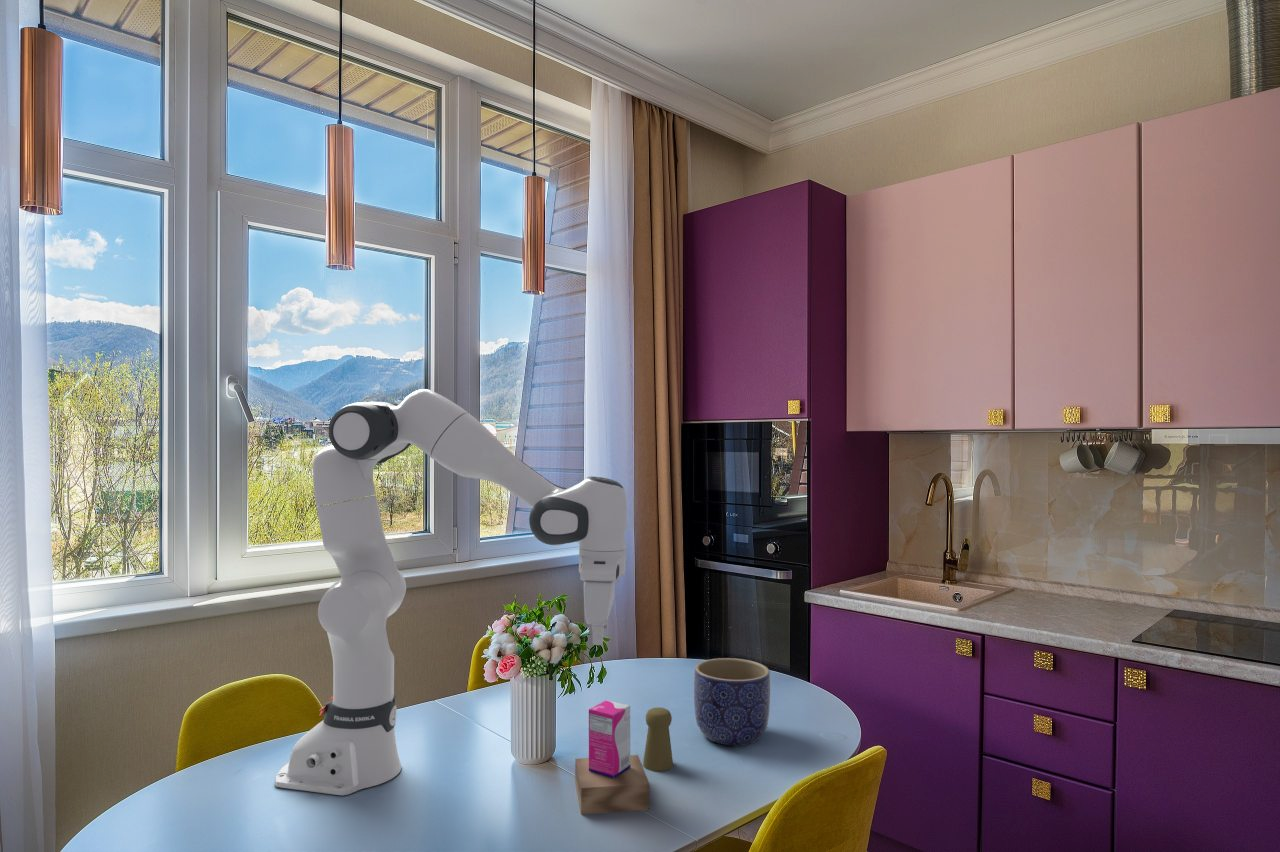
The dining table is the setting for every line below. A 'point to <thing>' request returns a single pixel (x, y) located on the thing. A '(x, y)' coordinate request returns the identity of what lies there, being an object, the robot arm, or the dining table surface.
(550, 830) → the dining table surface
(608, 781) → the walnut block
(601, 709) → the supplement box
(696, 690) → the planter
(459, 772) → the dining table surface
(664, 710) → the olive pawn
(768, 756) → the dining table surface
